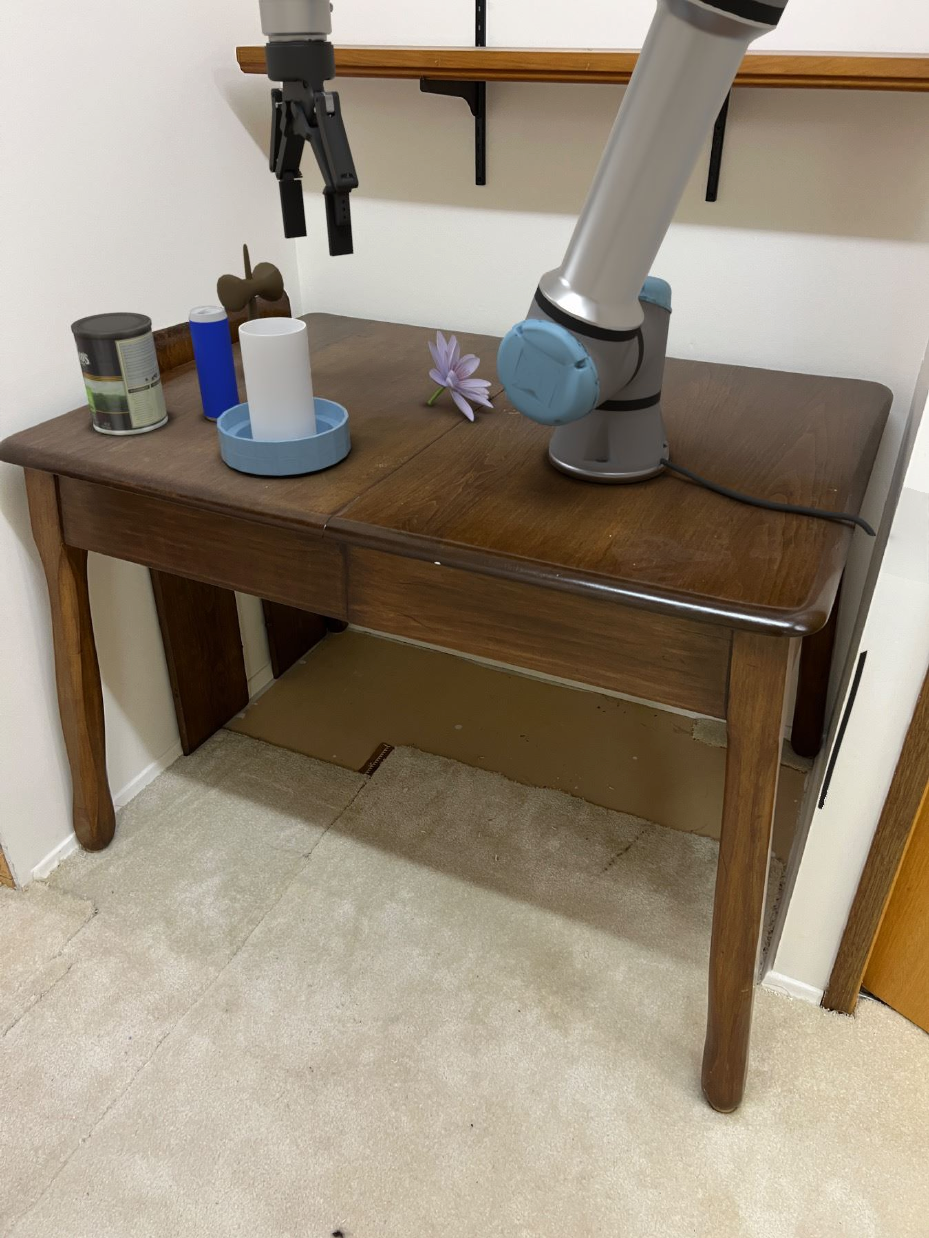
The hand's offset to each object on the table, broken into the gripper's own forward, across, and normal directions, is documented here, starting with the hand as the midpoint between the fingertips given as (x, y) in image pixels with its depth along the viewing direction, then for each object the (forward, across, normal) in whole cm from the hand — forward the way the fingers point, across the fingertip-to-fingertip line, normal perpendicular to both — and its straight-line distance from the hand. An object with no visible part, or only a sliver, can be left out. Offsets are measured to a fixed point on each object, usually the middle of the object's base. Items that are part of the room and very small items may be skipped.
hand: (317, 246), depth 113 cm
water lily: (+25, +2, -21) cm, 33 cm away
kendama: (+25, +32, -2) cm, 41 cm away
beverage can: (+25, +18, +10) cm, 32 cm away
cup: (+25, 0, +7) cm, 26 cm away
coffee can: (+25, +22, +22) cm, 40 cm away
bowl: (+25, 0, +7) cm, 26 cm away
